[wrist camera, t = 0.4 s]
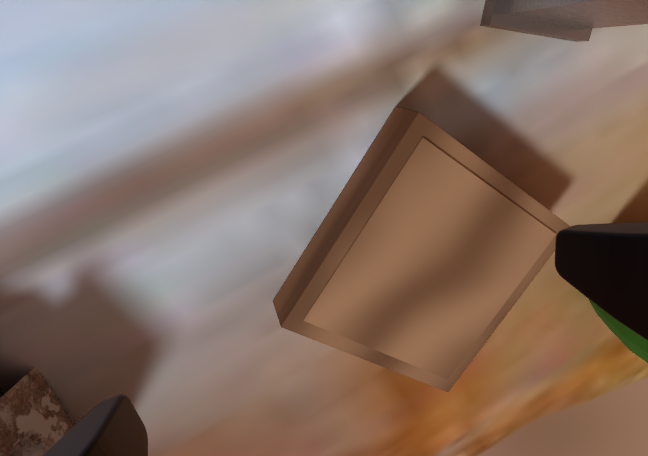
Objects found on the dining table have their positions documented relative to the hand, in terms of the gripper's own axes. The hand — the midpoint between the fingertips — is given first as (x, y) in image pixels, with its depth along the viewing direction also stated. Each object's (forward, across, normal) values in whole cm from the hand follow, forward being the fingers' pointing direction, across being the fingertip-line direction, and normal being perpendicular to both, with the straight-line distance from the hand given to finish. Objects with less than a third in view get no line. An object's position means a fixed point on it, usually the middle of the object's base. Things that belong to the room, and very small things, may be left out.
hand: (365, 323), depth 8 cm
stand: (+13, +7, -8) cm, 17 cm away
